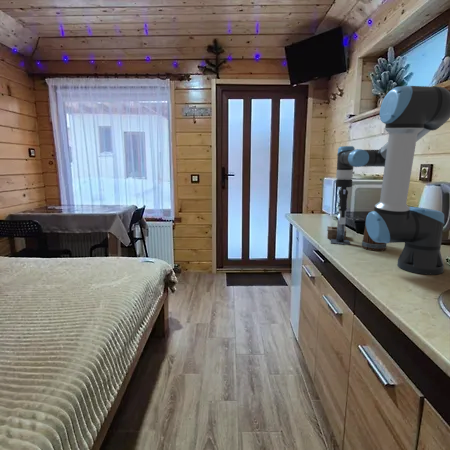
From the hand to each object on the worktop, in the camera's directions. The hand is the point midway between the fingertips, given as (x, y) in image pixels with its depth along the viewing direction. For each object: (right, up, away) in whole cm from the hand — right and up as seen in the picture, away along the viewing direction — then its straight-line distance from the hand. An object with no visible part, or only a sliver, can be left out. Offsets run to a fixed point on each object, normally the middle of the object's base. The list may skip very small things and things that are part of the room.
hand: (341, 221), depth 161 cm
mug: (+12, -12, -7) cm, 19 cm away
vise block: (+1, -8, +12) cm, 15 cm away
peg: (0, -10, +2) cm, 10 cm away
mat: (0, -10, +2) cm, 11 cm away
